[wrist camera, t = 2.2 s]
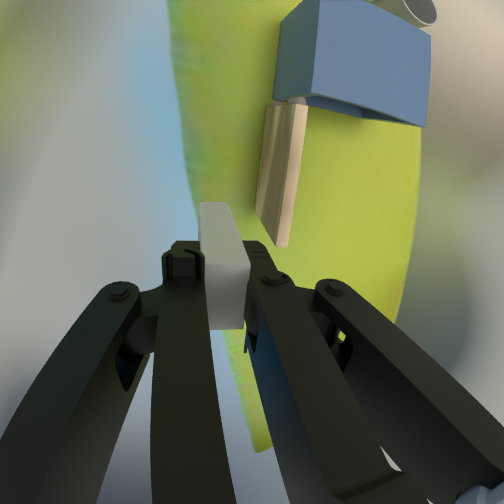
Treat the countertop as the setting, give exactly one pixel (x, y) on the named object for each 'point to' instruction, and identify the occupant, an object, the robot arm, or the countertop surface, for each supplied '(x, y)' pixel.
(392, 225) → the countertop surface
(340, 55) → the cabinet
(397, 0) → the cup
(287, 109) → the door
